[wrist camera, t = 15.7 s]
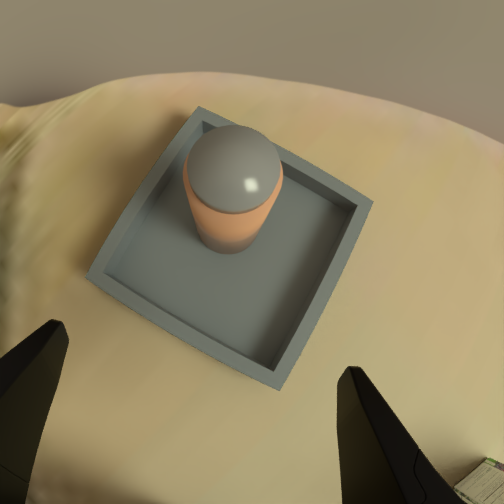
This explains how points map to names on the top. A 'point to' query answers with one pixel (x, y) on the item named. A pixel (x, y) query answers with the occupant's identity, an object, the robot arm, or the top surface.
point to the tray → (233, 261)
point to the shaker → (231, 186)
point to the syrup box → (483, 484)
